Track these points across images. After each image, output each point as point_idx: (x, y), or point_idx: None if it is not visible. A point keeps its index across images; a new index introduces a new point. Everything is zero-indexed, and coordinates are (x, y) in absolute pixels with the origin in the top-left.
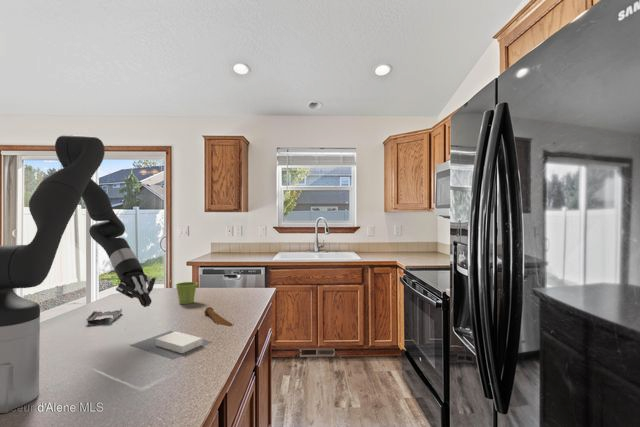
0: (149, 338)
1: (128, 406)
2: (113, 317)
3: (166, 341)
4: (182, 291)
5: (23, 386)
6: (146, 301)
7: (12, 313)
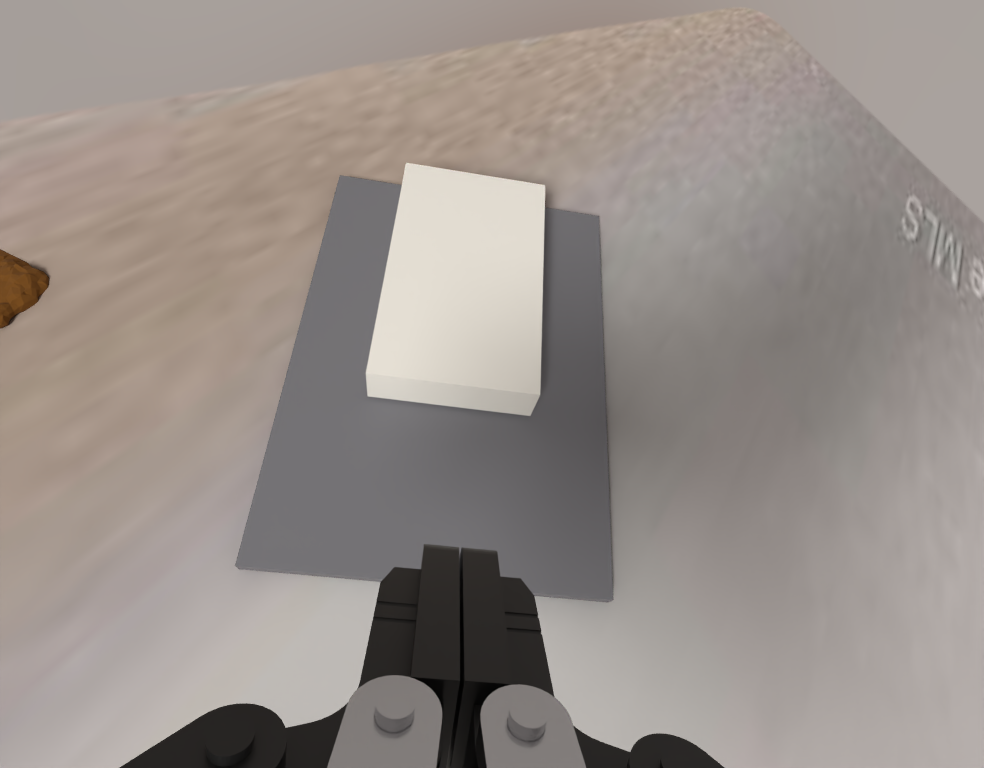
0: None
1: (851, 154)
2: None
3: (539, 298)
4: None
5: None
6: (493, 565)
7: None
